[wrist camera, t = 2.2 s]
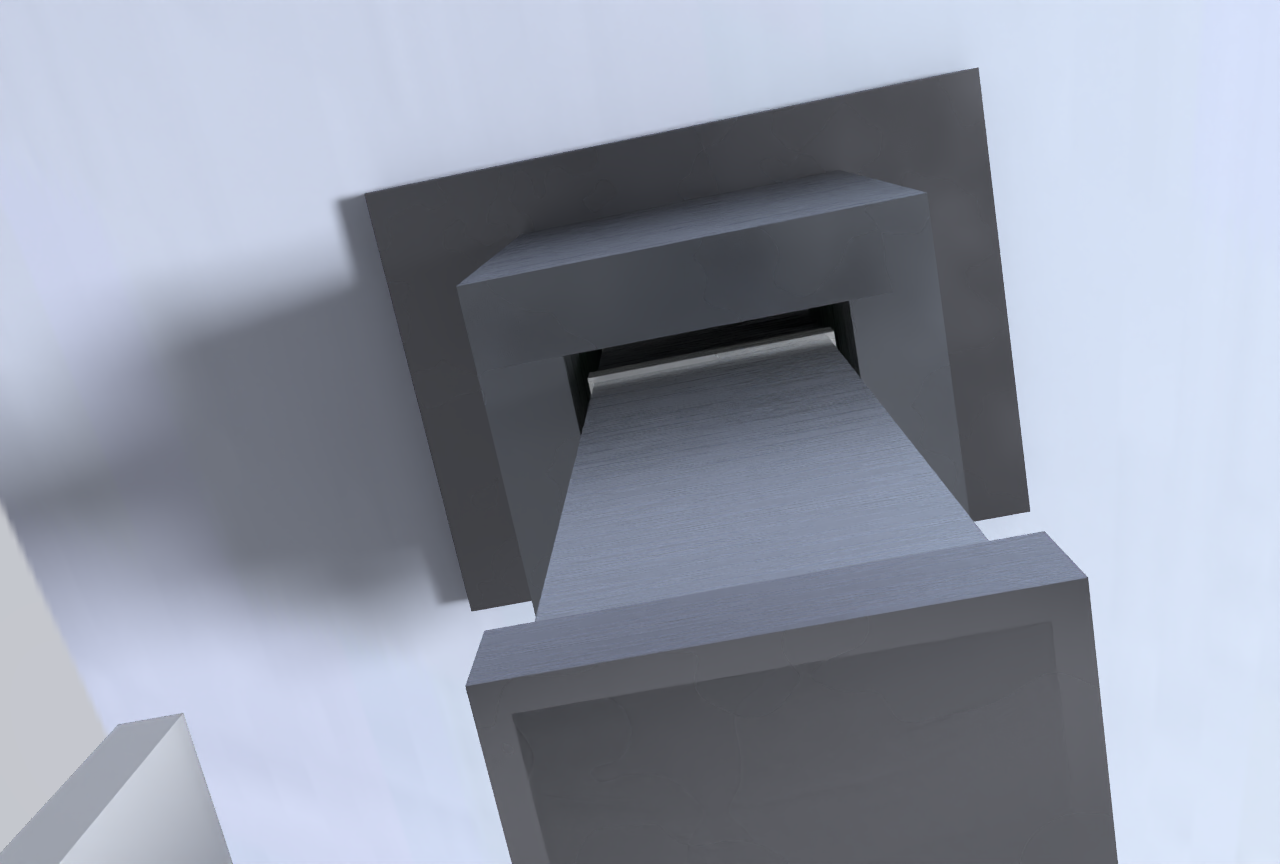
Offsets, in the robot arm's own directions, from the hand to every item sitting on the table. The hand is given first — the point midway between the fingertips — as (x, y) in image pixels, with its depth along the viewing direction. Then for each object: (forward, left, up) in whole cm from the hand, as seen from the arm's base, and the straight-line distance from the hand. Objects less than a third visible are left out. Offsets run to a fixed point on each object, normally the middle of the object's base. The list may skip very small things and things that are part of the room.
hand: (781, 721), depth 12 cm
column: (0, 0, -19) cm, 19 cm away
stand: (0, 0, -20) cm, 20 cm away
